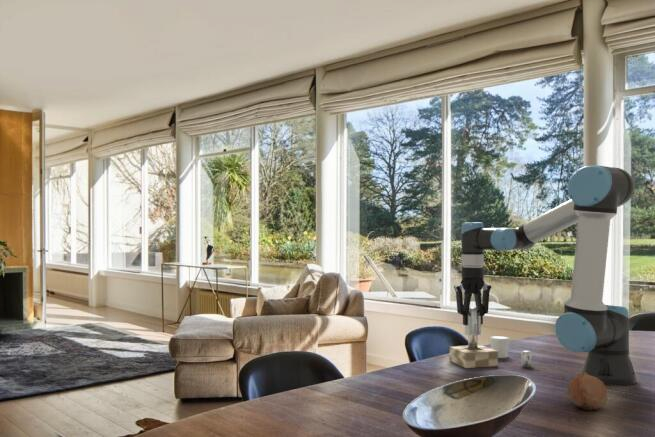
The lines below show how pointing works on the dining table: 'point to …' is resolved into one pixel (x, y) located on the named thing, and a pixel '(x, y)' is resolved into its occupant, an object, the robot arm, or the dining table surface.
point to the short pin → (526, 358)
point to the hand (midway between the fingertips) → (472, 334)
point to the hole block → (473, 356)
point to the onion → (587, 391)
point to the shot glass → (500, 345)
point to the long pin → (473, 329)
